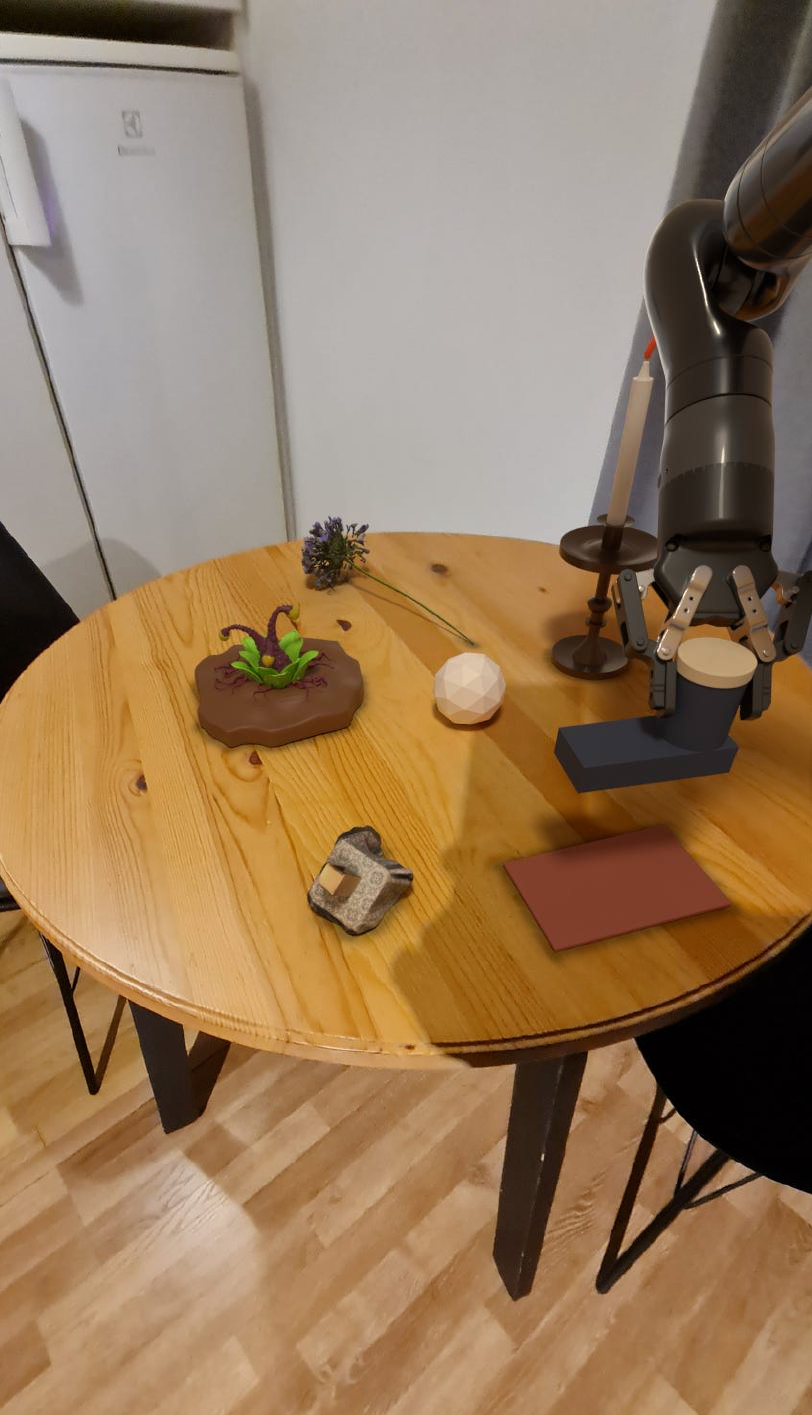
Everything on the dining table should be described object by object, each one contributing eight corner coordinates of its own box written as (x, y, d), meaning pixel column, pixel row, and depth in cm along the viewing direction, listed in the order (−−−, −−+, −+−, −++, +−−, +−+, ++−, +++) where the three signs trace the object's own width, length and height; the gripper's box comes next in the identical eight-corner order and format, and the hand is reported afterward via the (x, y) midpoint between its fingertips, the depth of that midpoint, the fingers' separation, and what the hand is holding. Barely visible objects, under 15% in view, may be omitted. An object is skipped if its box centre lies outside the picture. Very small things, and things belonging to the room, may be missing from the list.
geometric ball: (480, 744, 84) (504, 721, 77) (415, 717, 84) (432, 691, 76) (500, 686, 86) (526, 658, 78) (436, 659, 86) (456, 628, 78)
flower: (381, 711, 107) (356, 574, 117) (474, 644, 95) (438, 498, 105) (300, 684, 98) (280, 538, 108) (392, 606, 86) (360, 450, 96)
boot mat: (662, 827, 69) (663, 824, 69) (730, 906, 62) (732, 902, 62) (503, 866, 67) (503, 863, 66) (554, 952, 60) (555, 949, 59)
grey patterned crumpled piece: (439, 828, 66) (378, 879, 56) (431, 897, 68) (371, 957, 58) (357, 807, 69) (286, 851, 59) (352, 874, 72) (283, 927, 62)
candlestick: (626, 638, 95) (701, 309, 71) (642, 684, 87) (733, 331, 63) (539, 637, 96) (585, 313, 72) (547, 683, 88) (601, 335, 65)
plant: (379, 732, 82) (377, 641, 75) (201, 758, 80) (181, 668, 73) (347, 643, 97) (342, 560, 89) (196, 664, 95) (178, 580, 87)
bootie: (696, 733, 60) (732, 633, 54) (730, 773, 57) (773, 671, 50) (553, 752, 59) (572, 651, 53) (578, 794, 55) (602, 692, 49)
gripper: (625, 458, 51) (617, 705, 50) (849, 456, 49) (844, 711, 49) (600, 508, 58) (593, 723, 58) (795, 507, 57) (789, 729, 56)
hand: (708, 716), depth 53 cm, fingers closed on bootie, 5 cm apart
